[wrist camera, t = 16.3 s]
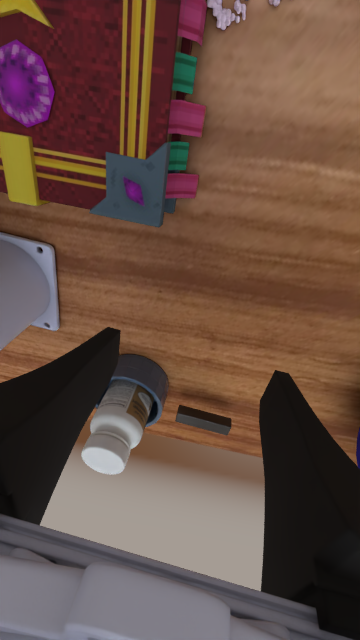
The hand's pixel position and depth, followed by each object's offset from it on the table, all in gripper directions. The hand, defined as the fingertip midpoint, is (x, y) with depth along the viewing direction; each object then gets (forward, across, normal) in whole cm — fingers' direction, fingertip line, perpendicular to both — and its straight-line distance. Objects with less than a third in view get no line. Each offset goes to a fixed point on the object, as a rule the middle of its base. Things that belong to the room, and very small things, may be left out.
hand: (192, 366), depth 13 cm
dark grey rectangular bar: (+7, -3, +12) cm, 14 cm away
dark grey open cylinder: (+9, +4, +12) cm, 16 cm away
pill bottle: (+9, +4, +13) cm, 16 cm away
